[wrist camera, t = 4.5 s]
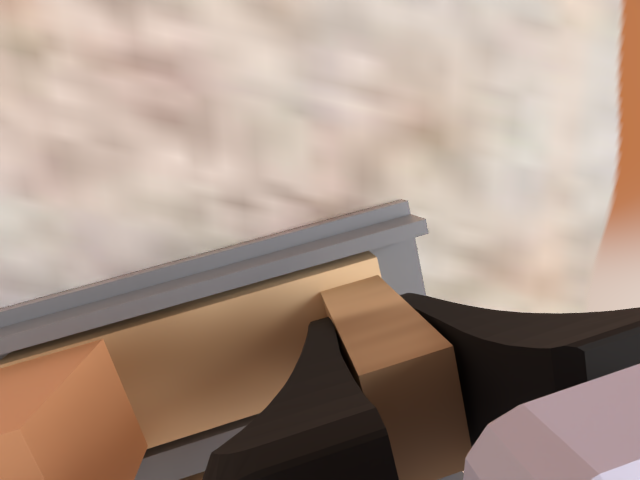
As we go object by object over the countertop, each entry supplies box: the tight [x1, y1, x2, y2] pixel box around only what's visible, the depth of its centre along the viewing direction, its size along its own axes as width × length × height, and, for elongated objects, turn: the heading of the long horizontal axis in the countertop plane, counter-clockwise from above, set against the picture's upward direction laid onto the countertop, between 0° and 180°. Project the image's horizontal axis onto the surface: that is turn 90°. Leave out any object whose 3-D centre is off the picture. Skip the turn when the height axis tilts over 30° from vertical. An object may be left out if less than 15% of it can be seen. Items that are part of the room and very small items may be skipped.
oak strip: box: [0, 251, 472, 480], centre depth 10 cm, size 4×12×6 cm, turn 104°
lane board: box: [0, 199, 464, 480], centre depth 13 cm, size 12×22×2 cm, turn 104°
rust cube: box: [0, 339, 148, 480], centre depth 10 cm, size 4×4×4 cm
